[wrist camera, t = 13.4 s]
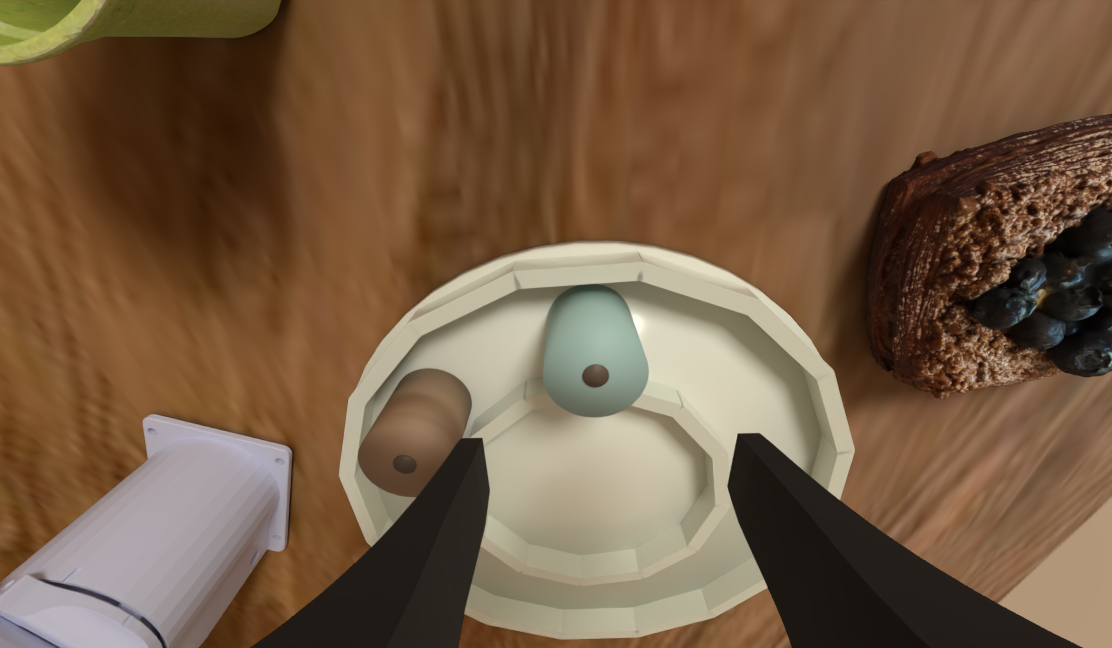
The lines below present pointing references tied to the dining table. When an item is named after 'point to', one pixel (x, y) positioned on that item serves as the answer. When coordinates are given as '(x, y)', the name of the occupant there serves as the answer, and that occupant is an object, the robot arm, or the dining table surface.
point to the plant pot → (120, 22)
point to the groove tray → (609, 437)
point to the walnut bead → (415, 431)
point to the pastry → (997, 262)
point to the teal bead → (593, 352)
